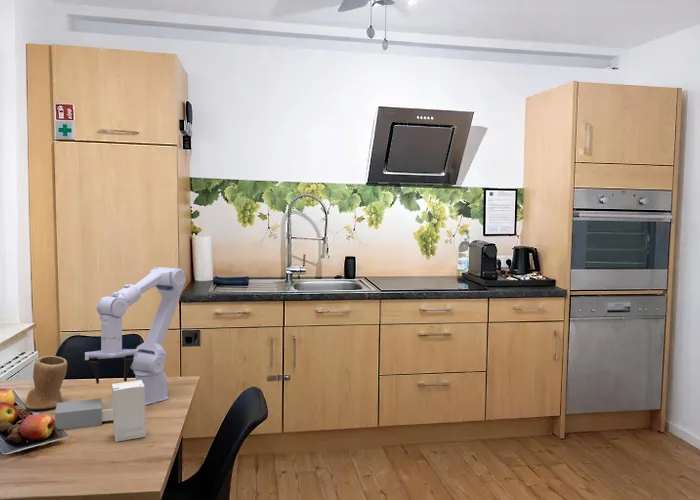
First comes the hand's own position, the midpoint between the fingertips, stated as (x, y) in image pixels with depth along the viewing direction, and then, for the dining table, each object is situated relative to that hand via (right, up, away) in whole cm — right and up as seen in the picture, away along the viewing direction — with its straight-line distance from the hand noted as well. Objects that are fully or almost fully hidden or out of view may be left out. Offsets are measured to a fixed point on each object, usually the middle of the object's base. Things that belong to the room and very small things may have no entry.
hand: (111, 381), depth 178 cm
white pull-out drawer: (0, -10, -2) cm, 11 cm away
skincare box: (+10, -12, -14) cm, 21 cm away
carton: (-7, -11, -5) cm, 14 cm away
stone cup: (-24, -9, +10) cm, 28 cm away
